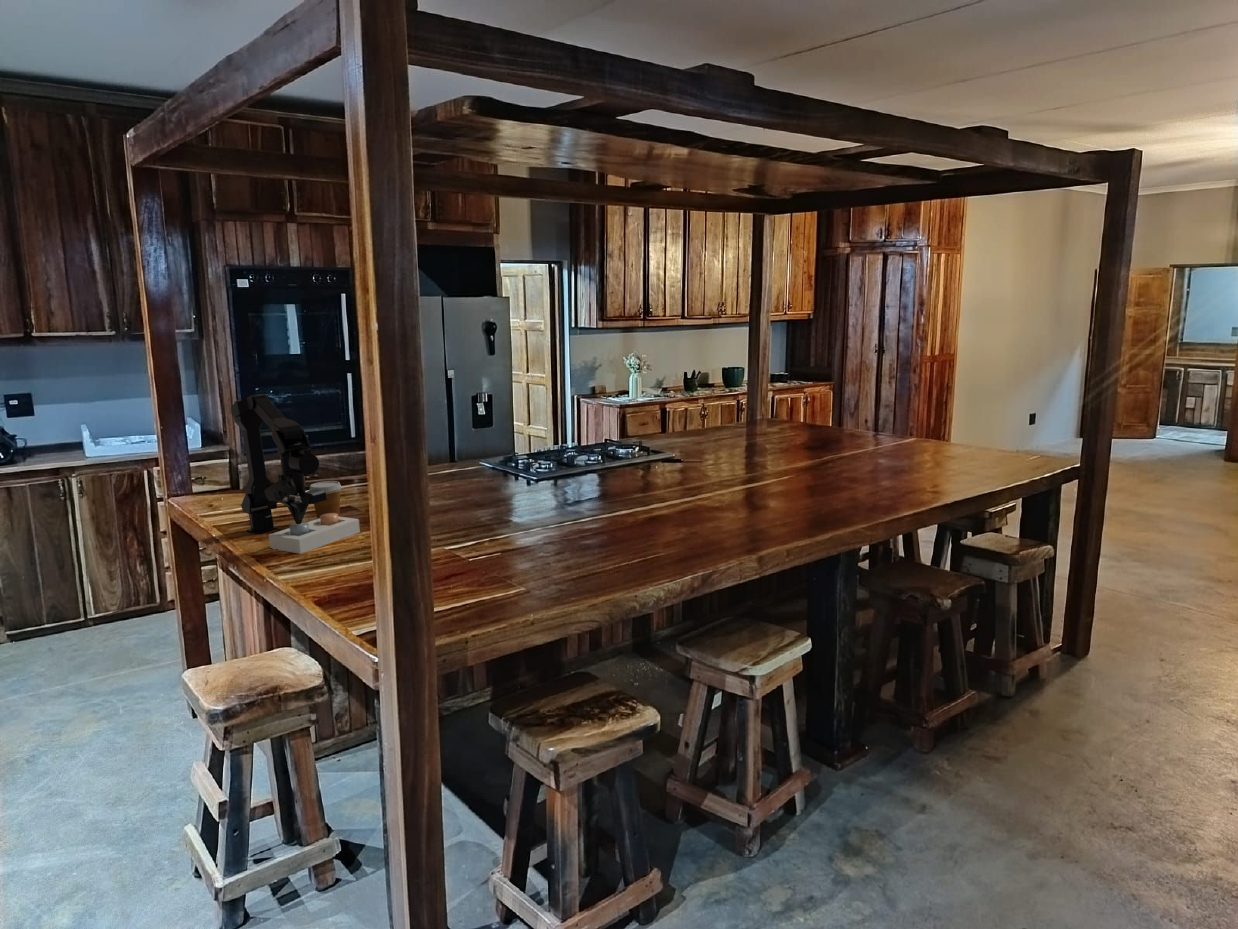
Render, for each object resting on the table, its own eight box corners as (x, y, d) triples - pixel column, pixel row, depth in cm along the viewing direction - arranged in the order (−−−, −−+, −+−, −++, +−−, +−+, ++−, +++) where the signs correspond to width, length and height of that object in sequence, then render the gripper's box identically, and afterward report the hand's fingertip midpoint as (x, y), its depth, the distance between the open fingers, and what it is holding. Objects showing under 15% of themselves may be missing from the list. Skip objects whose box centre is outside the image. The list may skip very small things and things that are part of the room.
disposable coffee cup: (311, 527, 255) (307, 489, 252) (313, 519, 263) (309, 482, 261) (344, 524, 257) (340, 486, 255) (345, 516, 266) (341, 479, 264)
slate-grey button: (286, 536, 235) (285, 526, 234) (300, 532, 239) (299, 521, 238) (299, 538, 232) (298, 528, 232) (313, 533, 237) (312, 523, 236)
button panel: (270, 548, 234) (268, 534, 233) (330, 527, 253) (329, 515, 252) (300, 553, 229) (299, 539, 228) (359, 532, 248) (358, 519, 247)
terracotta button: (317, 526, 244) (316, 516, 243) (330, 522, 248) (329, 512, 248) (329, 528, 242) (328, 518, 241) (342, 523, 246) (341, 514, 245)
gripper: (245, 473, 229) (251, 527, 232) (292, 478, 220) (299, 535, 224) (278, 465, 239) (284, 517, 242) (325, 470, 230) (331, 524, 233)
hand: (298, 524), depth 235 cm, fingers closed
